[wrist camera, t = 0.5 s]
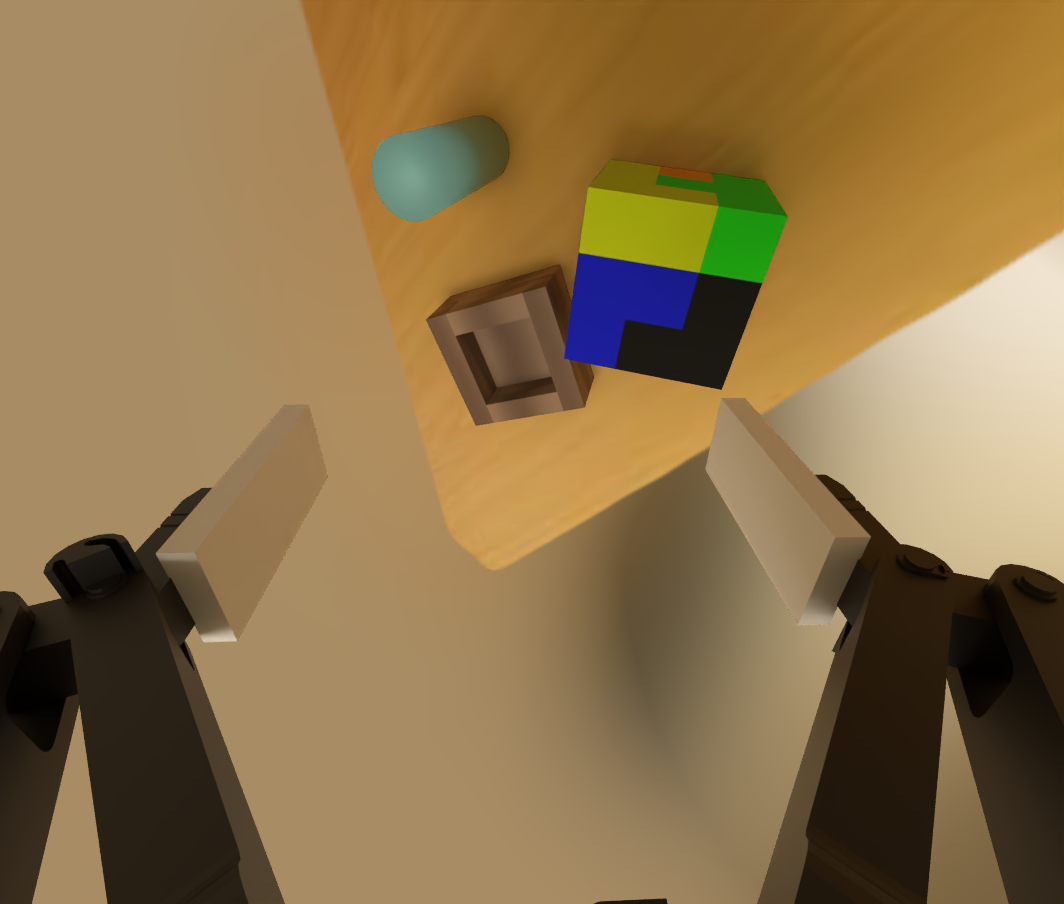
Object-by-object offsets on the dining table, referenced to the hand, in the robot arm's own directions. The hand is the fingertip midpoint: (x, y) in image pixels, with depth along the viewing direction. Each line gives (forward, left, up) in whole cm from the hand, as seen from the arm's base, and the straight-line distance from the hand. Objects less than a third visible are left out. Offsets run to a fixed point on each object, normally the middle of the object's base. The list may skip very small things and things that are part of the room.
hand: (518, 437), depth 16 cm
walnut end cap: (+9, +6, -26) cm, 28 cm away
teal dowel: (+7, -8, -26) cm, 28 cm away
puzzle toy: (-3, +2, -26) cm, 27 cm away
